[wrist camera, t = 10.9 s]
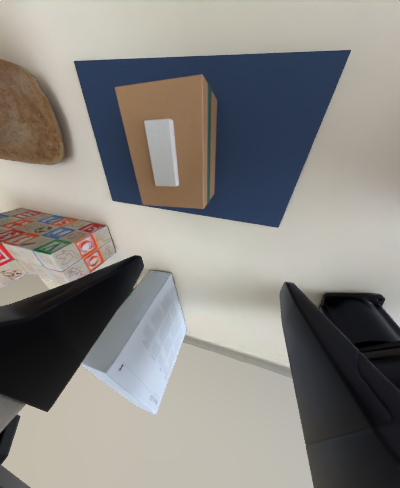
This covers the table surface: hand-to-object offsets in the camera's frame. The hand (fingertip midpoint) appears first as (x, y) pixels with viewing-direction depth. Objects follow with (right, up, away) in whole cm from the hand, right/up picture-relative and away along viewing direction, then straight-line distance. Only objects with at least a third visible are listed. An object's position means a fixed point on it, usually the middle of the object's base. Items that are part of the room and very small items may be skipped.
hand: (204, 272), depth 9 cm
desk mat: (-2, +12, +7) cm, 14 cm away
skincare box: (-7, -12, +25) cm, 29 cm away
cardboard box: (-2, +12, +7) cm, 14 cm away
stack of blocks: (-27, +5, +20) cm, 34 cm away
